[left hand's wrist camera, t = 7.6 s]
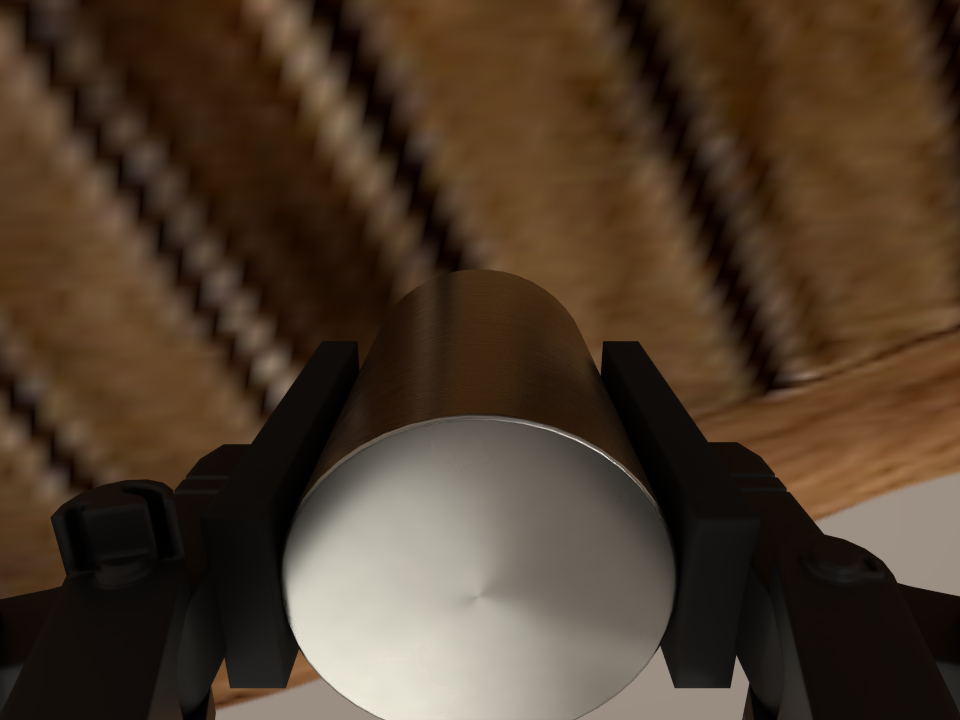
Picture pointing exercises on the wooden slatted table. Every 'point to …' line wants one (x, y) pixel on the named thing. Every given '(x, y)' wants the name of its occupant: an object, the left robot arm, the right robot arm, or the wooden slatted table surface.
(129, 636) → the left robot arm
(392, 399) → the tin
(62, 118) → the wooden slatted table surface
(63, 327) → the wooden slatted table surface
